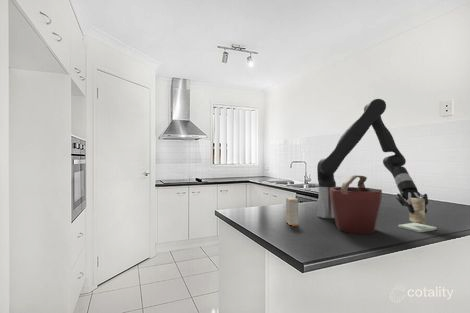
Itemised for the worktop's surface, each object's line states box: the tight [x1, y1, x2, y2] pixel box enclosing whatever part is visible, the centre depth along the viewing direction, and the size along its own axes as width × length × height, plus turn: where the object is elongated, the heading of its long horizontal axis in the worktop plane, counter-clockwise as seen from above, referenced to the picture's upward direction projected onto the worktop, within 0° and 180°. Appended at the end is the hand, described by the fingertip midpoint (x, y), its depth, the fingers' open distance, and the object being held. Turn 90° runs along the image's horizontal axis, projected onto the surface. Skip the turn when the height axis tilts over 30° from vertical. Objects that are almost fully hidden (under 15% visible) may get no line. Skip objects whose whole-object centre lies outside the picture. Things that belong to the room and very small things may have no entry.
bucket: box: [330, 175, 383, 235], centre depth 121 cm, size 24×22×25 cm
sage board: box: [397, 222, 437, 233], centre depth 122 cm, size 12×10×1 cm
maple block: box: [408, 197, 426, 224], centre depth 122 cm, size 4×4×11 cm
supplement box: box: [285, 196, 299, 227], centre depth 131 cm, size 8×5×13 cm, turn 179°
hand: (419, 212), depth 120 cm, fingers closed on maple block, 4 cm apart
